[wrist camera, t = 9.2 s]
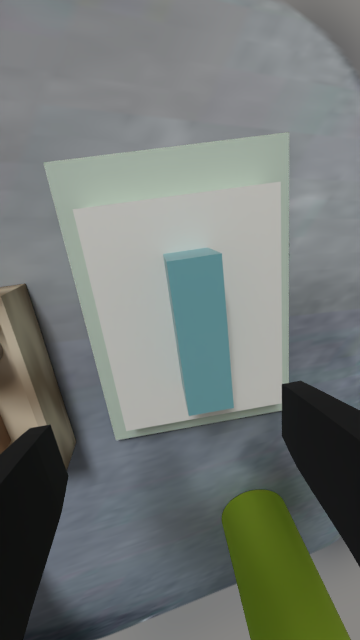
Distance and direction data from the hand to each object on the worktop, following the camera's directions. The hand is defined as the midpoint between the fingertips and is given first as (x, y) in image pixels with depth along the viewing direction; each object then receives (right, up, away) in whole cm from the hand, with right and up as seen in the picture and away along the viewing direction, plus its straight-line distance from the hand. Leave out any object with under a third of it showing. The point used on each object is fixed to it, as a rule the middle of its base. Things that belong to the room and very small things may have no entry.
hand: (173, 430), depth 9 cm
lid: (+1, +4, +8) cm, 9 cm away
